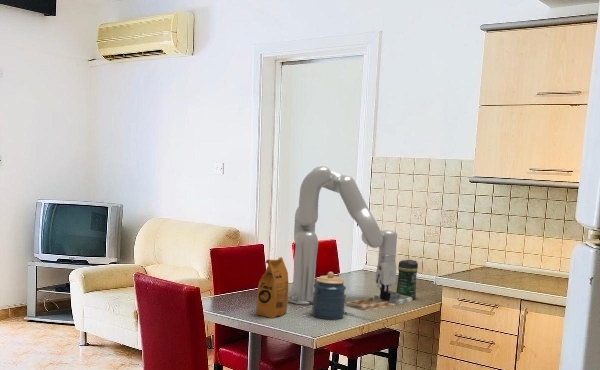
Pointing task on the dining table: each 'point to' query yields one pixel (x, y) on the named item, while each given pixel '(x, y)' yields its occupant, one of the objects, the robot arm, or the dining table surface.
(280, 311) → the coffee package
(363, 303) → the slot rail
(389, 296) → the gray cube
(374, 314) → the dining table surface
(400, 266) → the coffee jar
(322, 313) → the canister
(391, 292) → the grey cube
